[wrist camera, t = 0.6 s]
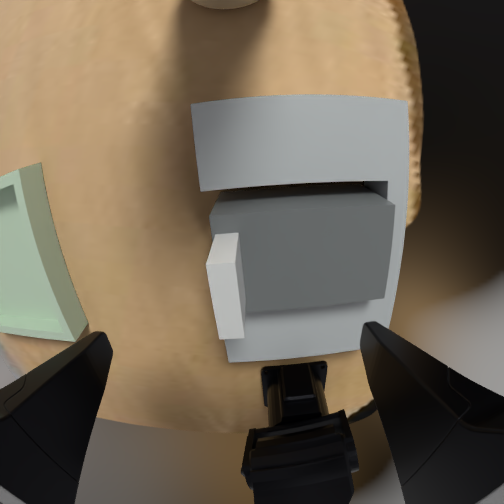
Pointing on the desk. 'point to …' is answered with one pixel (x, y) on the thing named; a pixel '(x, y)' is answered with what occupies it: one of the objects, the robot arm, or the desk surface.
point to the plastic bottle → (224, 3)
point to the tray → (33, 264)
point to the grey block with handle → (296, 250)
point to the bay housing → (308, 171)
